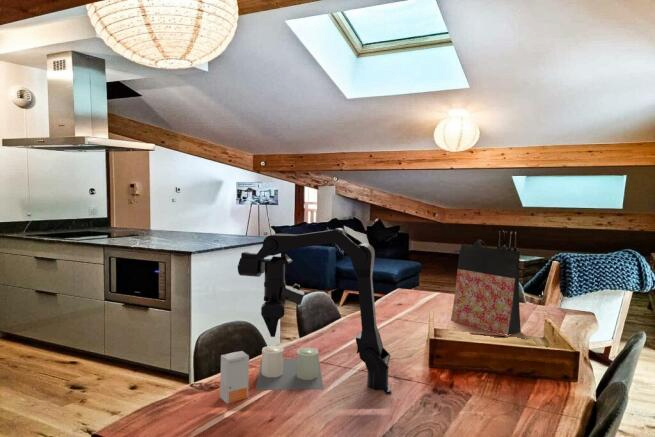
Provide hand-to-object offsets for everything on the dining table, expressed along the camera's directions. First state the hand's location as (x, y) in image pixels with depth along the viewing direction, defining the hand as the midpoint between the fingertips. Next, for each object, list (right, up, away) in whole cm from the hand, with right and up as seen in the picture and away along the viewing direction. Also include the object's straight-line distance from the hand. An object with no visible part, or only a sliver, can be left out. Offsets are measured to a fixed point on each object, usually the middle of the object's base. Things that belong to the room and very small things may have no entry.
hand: (273, 331), depth 130 cm
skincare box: (-8, -14, -15) cm, 22 cm away
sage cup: (+10, -12, -1) cm, 16 cm away
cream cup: (0, -12, 0) cm, 12 cm away
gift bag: (+79, -12, +57) cm, 98 cm away
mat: (+5, -13, +1) cm, 14 cm away
